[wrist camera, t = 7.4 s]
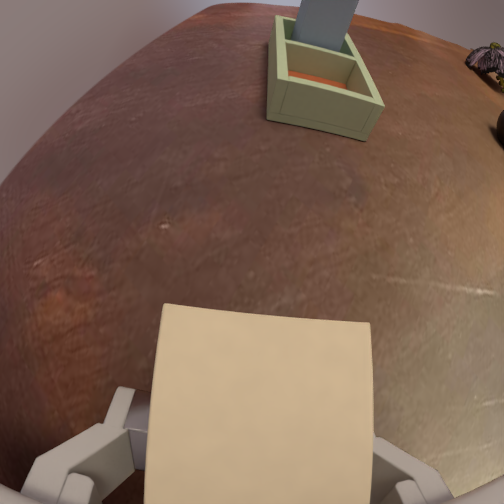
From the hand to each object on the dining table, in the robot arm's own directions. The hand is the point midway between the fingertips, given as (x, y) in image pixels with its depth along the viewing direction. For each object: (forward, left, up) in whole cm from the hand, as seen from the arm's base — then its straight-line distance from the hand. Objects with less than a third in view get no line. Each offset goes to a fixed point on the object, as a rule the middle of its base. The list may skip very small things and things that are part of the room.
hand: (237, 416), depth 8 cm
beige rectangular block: (0, -1, -5) cm, 5 cm away
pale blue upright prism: (-6, +31, -4) cm, 32 cm away
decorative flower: (+27, +75, -5) cm, 80 cm away
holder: (-5, +27, -5) cm, 28 cm away
